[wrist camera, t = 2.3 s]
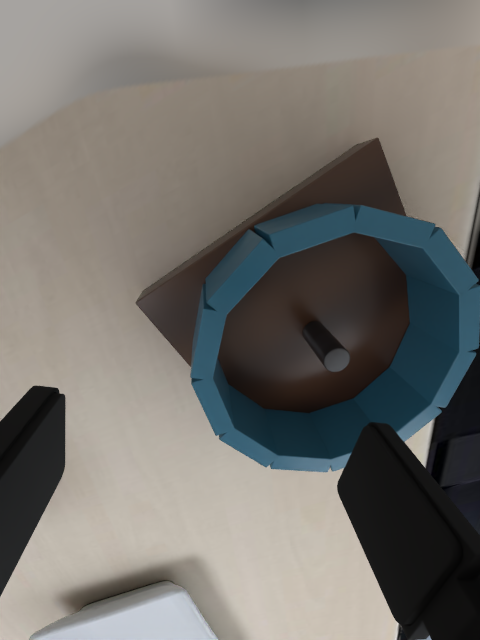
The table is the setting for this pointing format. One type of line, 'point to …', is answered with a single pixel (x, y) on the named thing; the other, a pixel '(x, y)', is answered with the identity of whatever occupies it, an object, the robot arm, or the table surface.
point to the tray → (134, 618)
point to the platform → (302, 299)
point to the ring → (386, 390)
